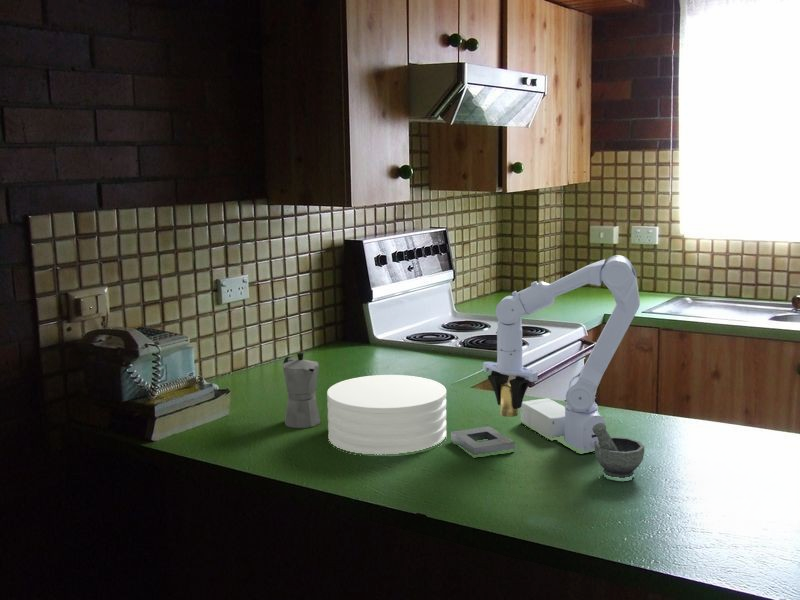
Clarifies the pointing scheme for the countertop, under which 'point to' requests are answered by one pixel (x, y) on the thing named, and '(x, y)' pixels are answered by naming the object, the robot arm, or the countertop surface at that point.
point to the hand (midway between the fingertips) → (509, 405)
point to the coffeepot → (301, 392)
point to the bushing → (507, 401)
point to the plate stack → (386, 414)
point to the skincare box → (544, 416)
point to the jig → (491, 445)
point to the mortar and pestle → (617, 453)
